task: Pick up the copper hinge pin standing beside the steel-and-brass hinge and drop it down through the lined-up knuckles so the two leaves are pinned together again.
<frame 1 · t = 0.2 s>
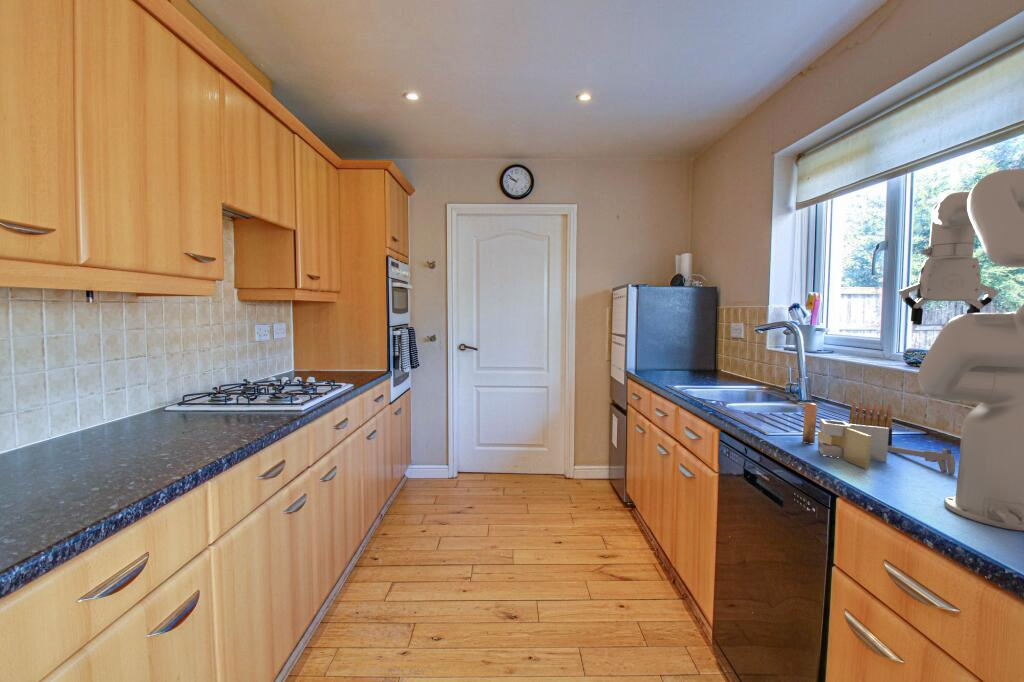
hand: (943, 325, 103), 37 cm above the worktop, tool pointing down, fingers open, 9 cm apart
hinge fixed: (832, 454, 119), on the worktop
pin: (808, 442, 129), on the worktop
hinge leaf: (846, 443, 114), point 5 cm above the worktop, hinge at 25.0°
caliper: (914, 462, 115), on the worktop
ammunition clip: (868, 443, 131), on the worktop
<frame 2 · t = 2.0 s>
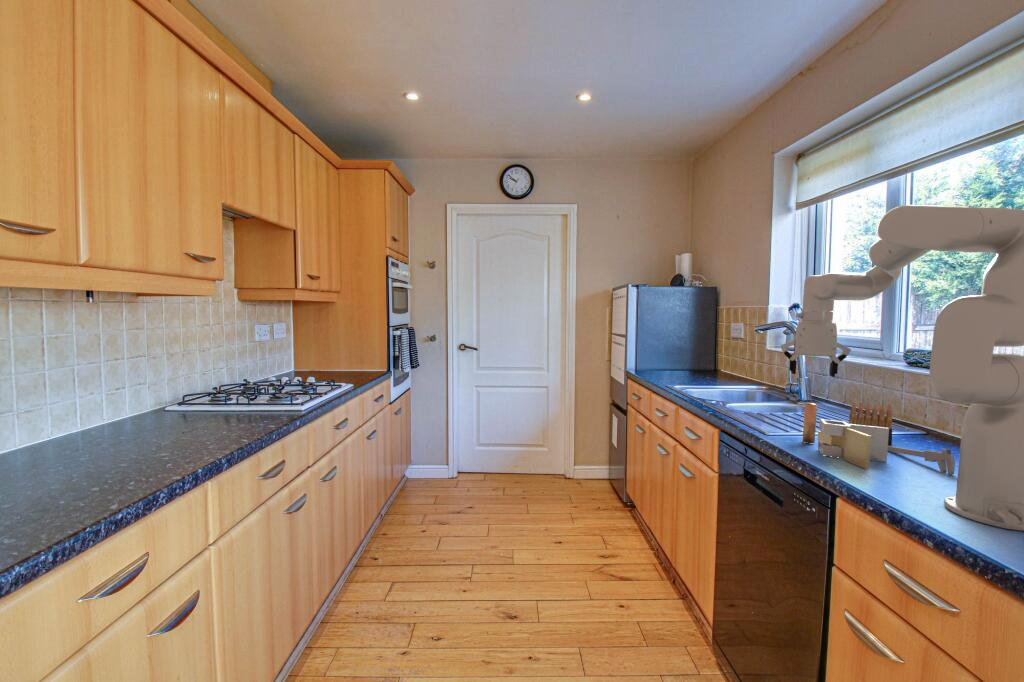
hand: (812, 374, 128), 21 cm above the worktop, tool pointing down, fingers open, 9 cm apart
nothing on the worktop moved.
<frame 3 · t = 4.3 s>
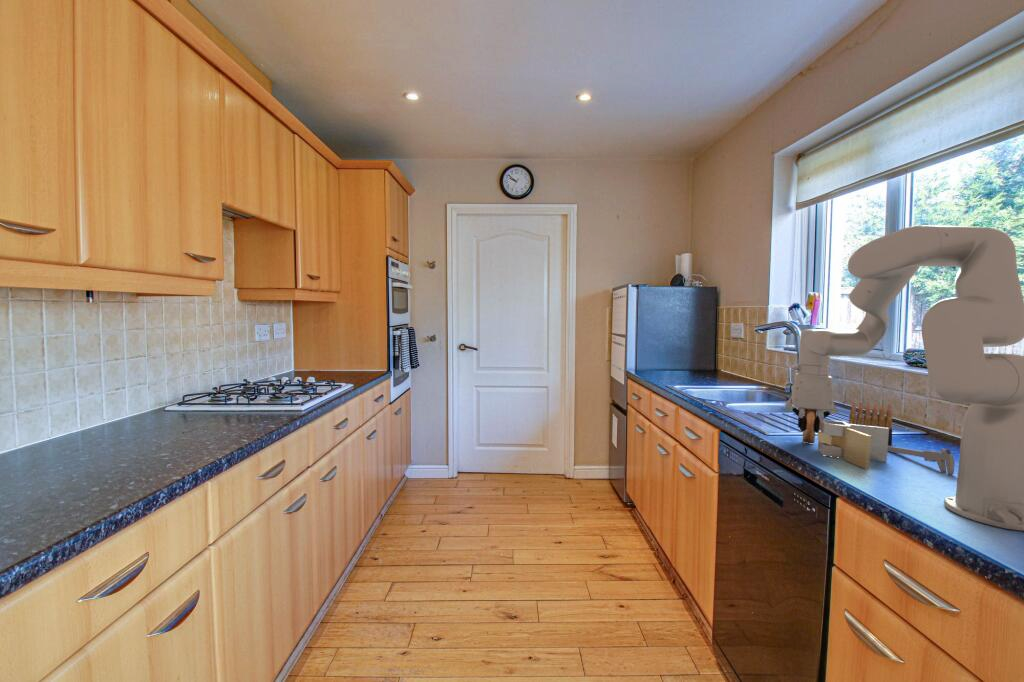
hand: (809, 430, 129), 4 cm above the worktop, tool pointing down, fingers closed on pin, 3 cm apart
pin: (808, 442, 129), on the worktop, touching gripper
everything else where it was.
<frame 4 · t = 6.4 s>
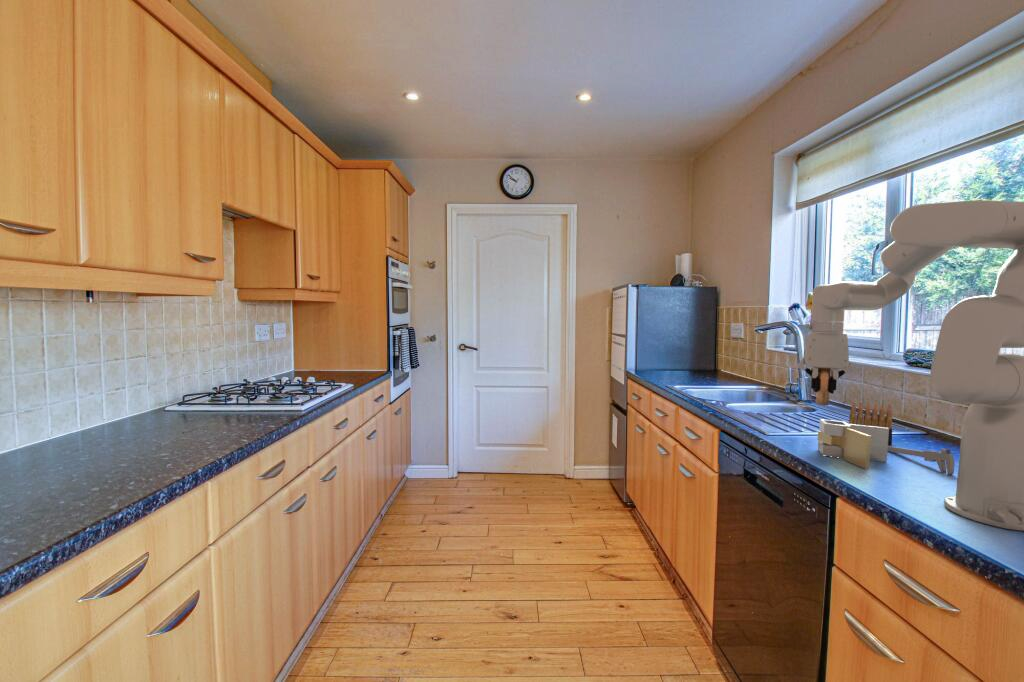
hand: (823, 391, 123), 17 cm above the worktop, tool pointing down, fingers closed on pin, 3 cm apart
pin: (822, 404, 124), point 13 cm above the worktop, touching gripper
everything else where it was.
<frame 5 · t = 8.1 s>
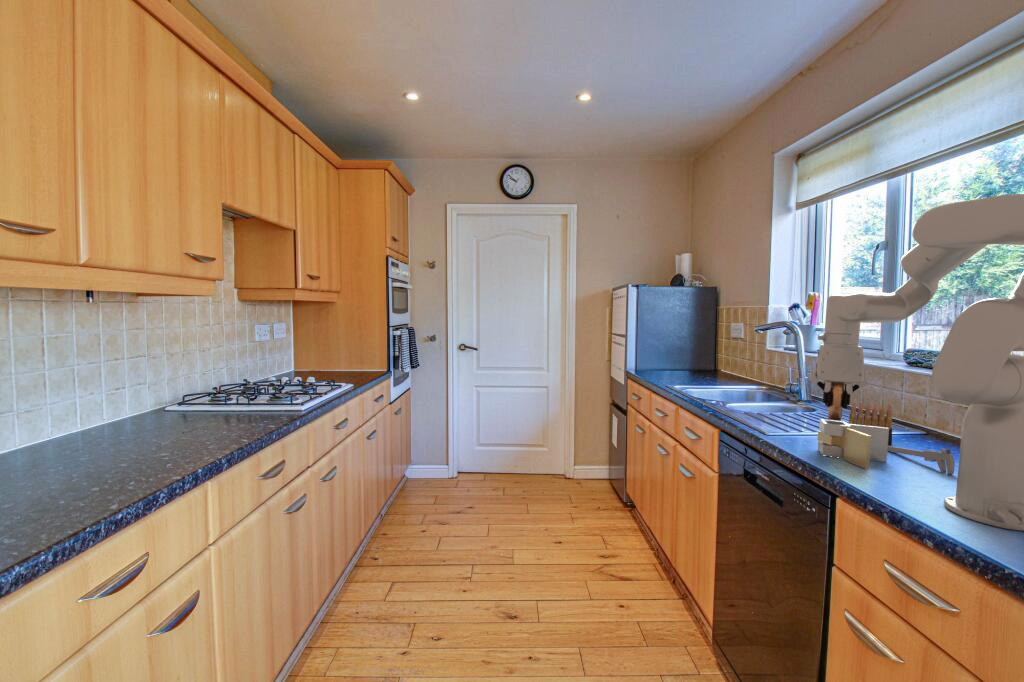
hand: (835, 406, 118), 14 cm above the worktop, tool pointing down, fingers closed on pin, 3 cm apart
pin: (834, 419, 118), point 10 cm above the worktop, touching gripper
everything else where it was.
when the fingers open (10 cm above the worktop, at t = 9.0 s): pin drops 7 cm, resting in hinge fixed.
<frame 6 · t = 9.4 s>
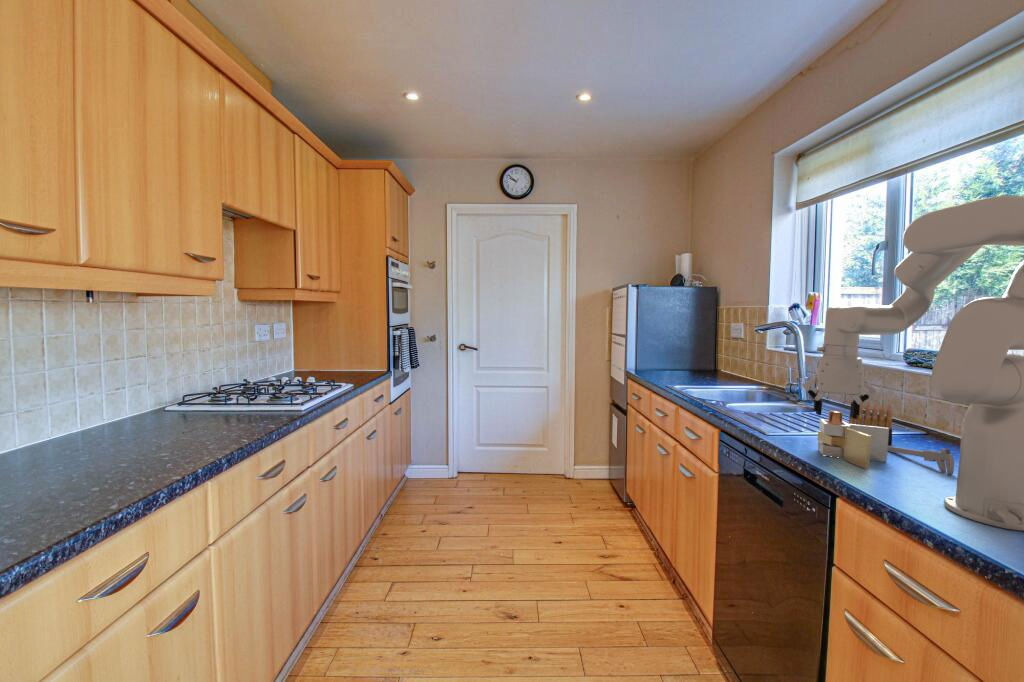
hand: (835, 415, 118), 11 cm above the worktop, tool pointing down, fingers open, 7 cm apart
pin: (832, 454, 119), resting in hinge fixed
everything else where it was.
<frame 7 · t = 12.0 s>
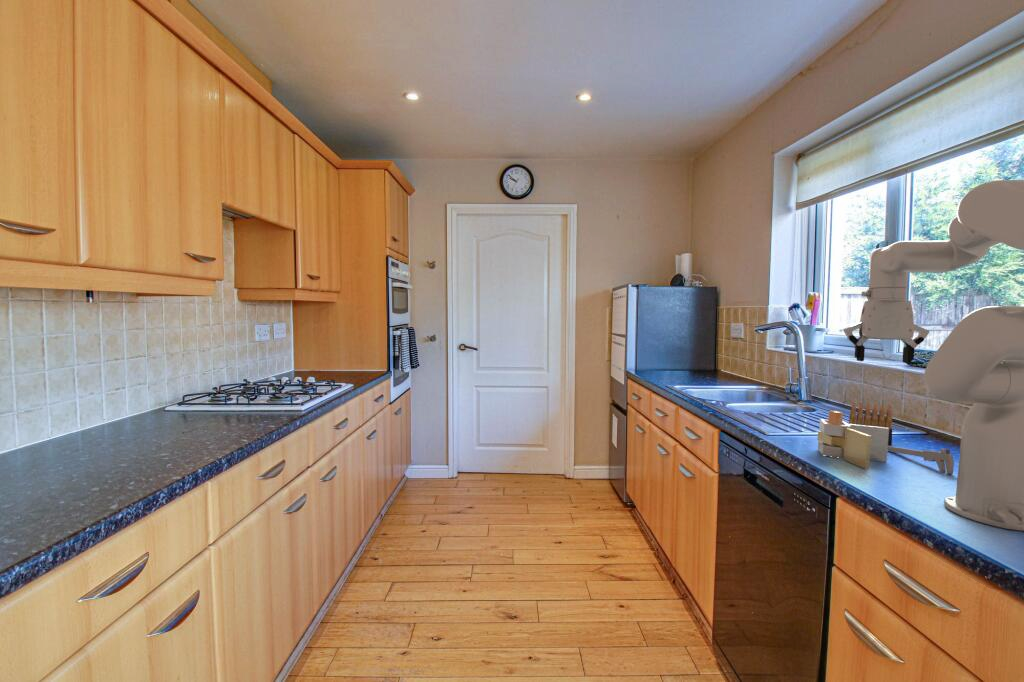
hand: (883, 361, 111), 27 cm above the worktop, tool pointing down, fingers open, 9 cm apart
nothing on the worktop moved.
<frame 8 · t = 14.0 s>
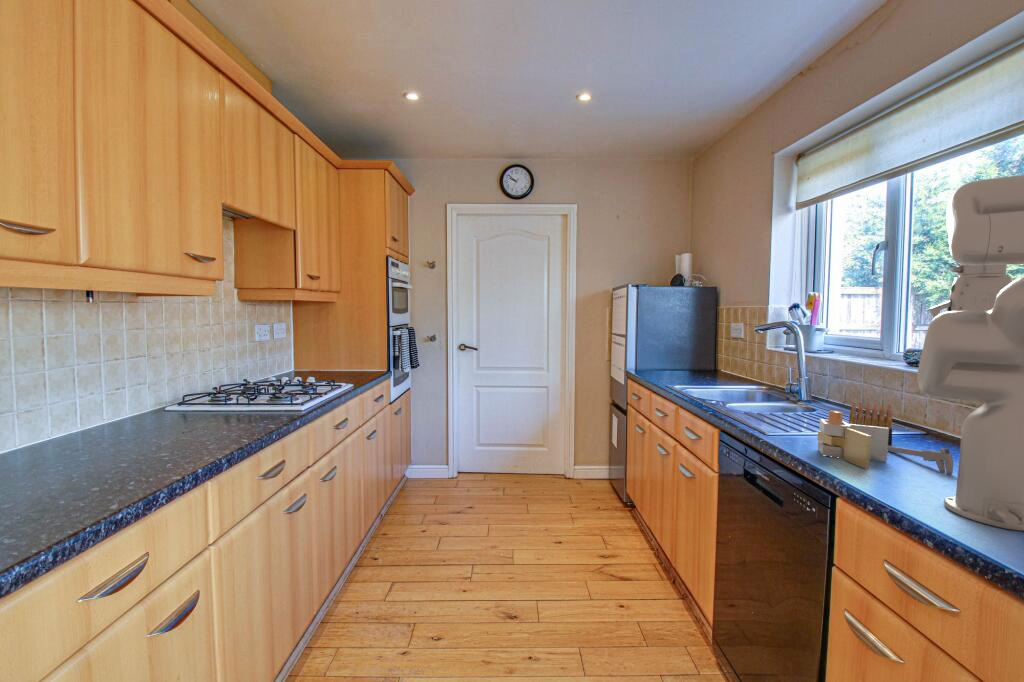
hand: (974, 343, 102), 32 cm above the worktop, tool pointing down, fingers open, 9 cm apart
nothing on the worktop moved.
at the end: pin 0.0 cm off-centre on the hinge fixed, point 0.0 cm above the hinge fixed's base; pin tilted 0°; the gripper is holding nothing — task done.
